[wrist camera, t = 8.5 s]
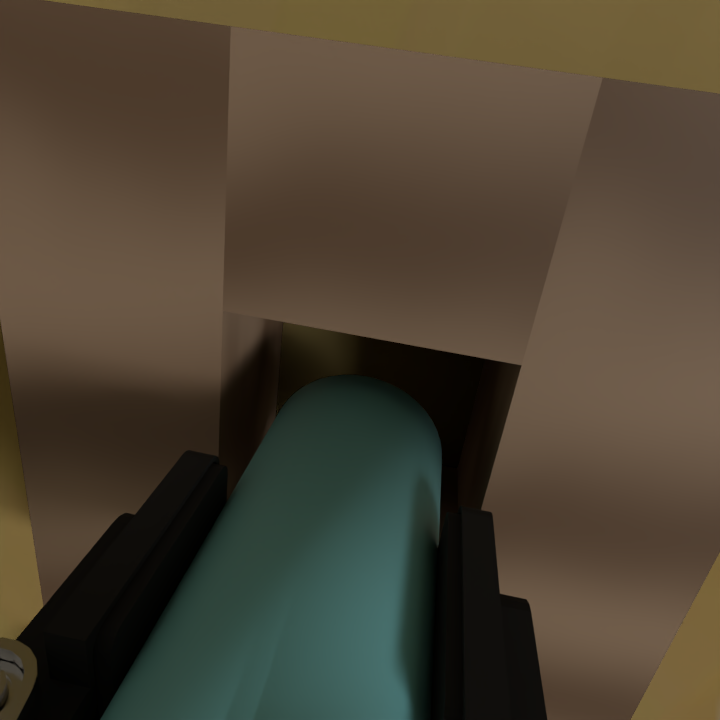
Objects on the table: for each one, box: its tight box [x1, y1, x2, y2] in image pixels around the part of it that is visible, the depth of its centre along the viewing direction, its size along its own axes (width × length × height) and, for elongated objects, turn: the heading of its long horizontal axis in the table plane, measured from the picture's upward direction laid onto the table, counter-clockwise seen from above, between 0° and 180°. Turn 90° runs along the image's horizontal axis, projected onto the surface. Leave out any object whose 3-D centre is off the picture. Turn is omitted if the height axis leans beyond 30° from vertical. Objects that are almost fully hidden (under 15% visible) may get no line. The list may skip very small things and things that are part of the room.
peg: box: [100, 375, 442, 720], centre depth 8 cm, size 4×4×12 cm
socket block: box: [0, 0, 720, 720], centre depth 15 cm, size 16×16×5 cm
